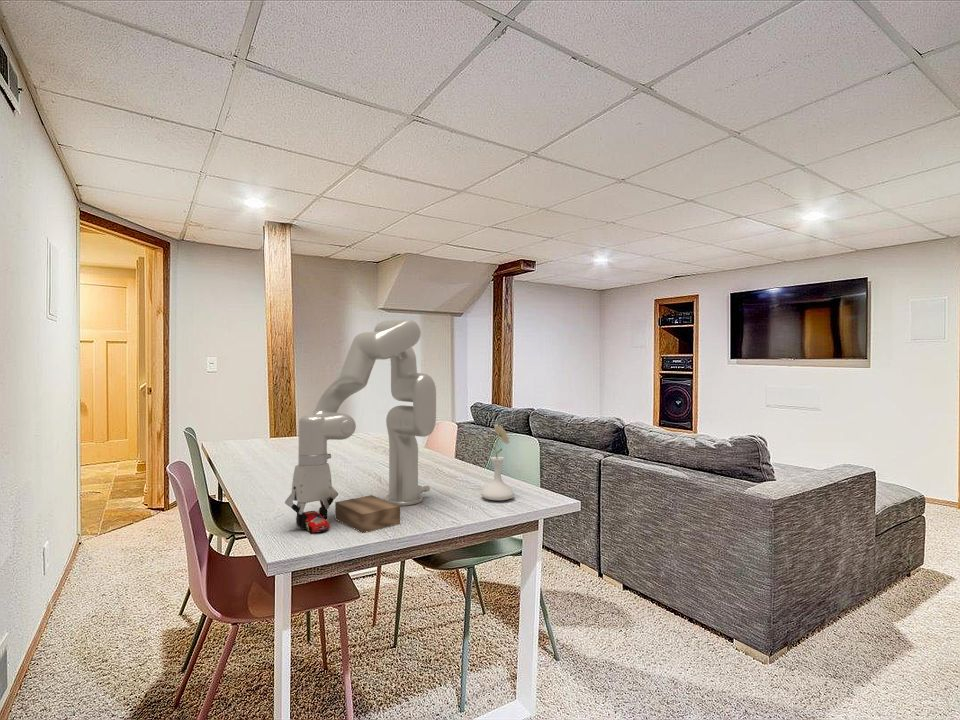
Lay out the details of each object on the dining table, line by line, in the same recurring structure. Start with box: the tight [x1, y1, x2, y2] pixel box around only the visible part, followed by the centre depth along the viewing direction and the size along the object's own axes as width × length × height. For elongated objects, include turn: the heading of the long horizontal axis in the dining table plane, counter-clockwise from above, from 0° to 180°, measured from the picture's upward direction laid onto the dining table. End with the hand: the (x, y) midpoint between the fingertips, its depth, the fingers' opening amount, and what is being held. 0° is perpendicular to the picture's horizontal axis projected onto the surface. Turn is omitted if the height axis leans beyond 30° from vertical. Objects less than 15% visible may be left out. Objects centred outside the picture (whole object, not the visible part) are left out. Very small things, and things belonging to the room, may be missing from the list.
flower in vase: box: [480, 423, 515, 501], centre depth 173 cm, size 13×11×25 cm
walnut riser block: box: [334, 494, 401, 534], centre depth 147 cm, size 12×16×5 cm
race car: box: [295, 510, 330, 534], centre depth 142 cm, size 13×5×4 cm, turn 41°
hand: (312, 524), depth 142 cm, fingers closed on race car, 5 cm apart
